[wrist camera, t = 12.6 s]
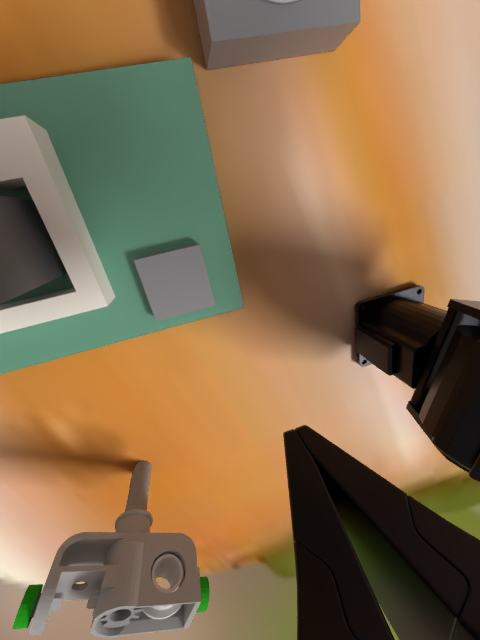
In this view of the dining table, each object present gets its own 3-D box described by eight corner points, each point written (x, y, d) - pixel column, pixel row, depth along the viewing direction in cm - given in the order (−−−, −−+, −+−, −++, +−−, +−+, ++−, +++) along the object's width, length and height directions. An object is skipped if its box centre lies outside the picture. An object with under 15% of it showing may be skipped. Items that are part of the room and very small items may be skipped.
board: (189, 72, 15) (192, 30, 11) (239, 301, 20) (251, 316, 17) (-228, 135, 12) (-374, 103, 9) (-43, 377, 18) (-92, 412, 14)
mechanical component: (84, 449, 22) (14, 615, 12) (201, 461, 25) (214, 600, 16) (77, 475, 22) (6, 651, 13) (191, 483, 26) (199, 629, 16)
